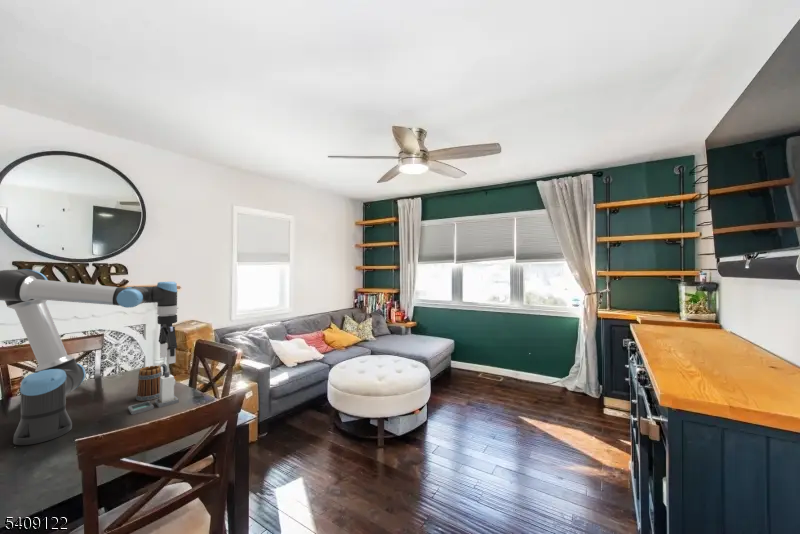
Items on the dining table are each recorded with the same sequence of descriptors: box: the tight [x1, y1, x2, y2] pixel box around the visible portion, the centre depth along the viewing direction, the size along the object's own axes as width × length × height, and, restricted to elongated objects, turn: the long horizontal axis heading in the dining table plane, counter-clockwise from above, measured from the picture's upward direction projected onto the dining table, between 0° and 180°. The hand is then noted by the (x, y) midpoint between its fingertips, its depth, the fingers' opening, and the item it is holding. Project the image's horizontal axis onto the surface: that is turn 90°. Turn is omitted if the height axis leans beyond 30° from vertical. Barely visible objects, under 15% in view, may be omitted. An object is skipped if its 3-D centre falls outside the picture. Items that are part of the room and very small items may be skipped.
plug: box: [160, 371, 176, 403], centre depth 153 cm, size 5×4×14 cm
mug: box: [135, 363, 168, 402], centre depth 161 cm, size 16×11×15 cm
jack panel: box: [127, 394, 180, 415], centre depth 149 cm, size 18×11×2 cm, turn 138°
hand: (167, 360), depth 153 cm, fingers open, 13 cm apart
